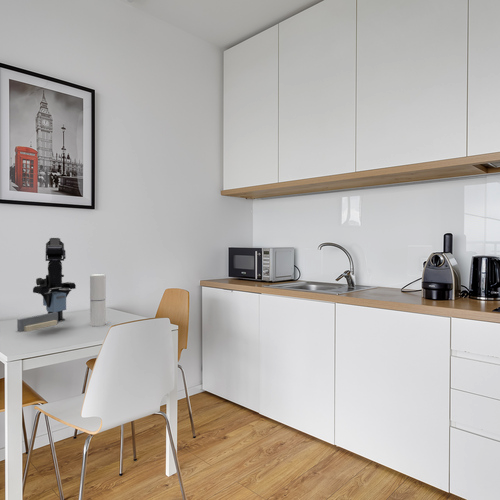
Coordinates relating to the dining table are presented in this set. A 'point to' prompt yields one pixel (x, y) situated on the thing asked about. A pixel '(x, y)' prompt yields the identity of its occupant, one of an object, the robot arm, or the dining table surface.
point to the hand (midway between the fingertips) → (55, 306)
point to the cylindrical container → (97, 300)
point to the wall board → (37, 322)
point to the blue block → (56, 302)
